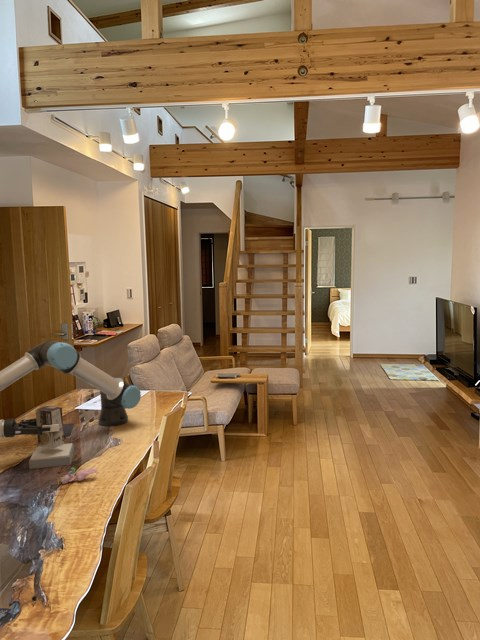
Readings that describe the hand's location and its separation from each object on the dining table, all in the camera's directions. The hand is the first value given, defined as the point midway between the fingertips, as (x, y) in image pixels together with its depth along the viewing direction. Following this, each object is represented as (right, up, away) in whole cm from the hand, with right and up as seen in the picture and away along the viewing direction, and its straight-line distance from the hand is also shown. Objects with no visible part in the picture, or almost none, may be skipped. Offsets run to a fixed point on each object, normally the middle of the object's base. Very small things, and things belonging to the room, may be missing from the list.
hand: (60, 423), depth 218 cm
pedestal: (-4, -16, +1) cm, 16 cm away
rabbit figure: (+14, -18, -21) cm, 31 cm away
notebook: (-14, -13, +38) cm, 42 cm away
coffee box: (-4, -9, 0) cm, 10 cm away
